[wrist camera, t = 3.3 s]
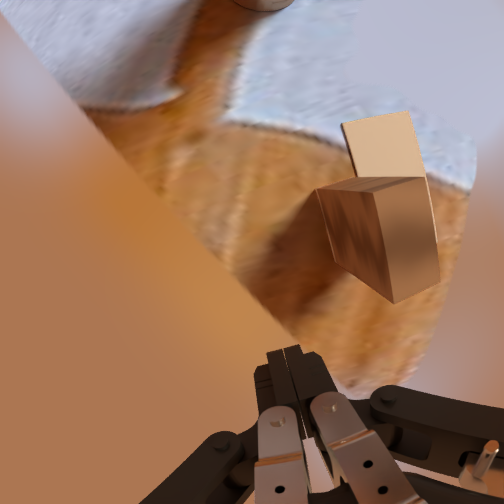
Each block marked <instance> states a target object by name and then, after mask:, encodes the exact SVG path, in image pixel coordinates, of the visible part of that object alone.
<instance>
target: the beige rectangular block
mask: <svg viewBox="0 0 504 504" xmlns="http://www.w3.org/2000/svg"><path fill="white" fill-rule="evenodd" d="M342 126H343V129H344V132H345V136H346V139H347V142H348V145H349V149H350V152H351V155H352V159H353V162H354V166H355V169H356V173H357V176H358V177H425V180H426V185H427V190H428V195H429V200H430V205H431V211H432V217H433V223H434V229H435V236H436V243H437V242H438V241H437V234H436V227H435V221H434V215H433V209H432V203H431V198H430V193H429V188H428V183H427V178H426V174H425V169H424V165H423V161H422V157H421V153H420V149H419V145H418V142H417V138H416V134H415V131H414V128H413V124H412V121H411V118H410V114H409V111H403V112H397V113H391V114H386V115H380V116H375V117H370V118H365V119H360V120H355V121H350V122H345V123H342Z"/></svg>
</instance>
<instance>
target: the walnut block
mask: <svg viewBox="0 0 504 504" xmlns="http://www.w3.org/2000/svg"><path fill="white" fill-rule="evenodd" d="M315 190H316V193H317V197H318V200H319V204H320V207H321V211H322V215H323V218H324V222H325V226H326V229H327V233H328V237H329V241H330V245H331V249H332V253H333V257H334V261H335V263H337V264H338V265H340V266H341V267H343V268H344V269H345V270H347V271H348V272H350V273H351V274H353V275H354V276H355V277H357V278H358V279H360V280H361V281H362V282H364V283H365V284H367V285H368V286H369V287H371V288H372V289H374V290H375V291H376V292H378V293H379V294H380V295H382V296H383V297H385V298H386V299H387V300H389V301H390V302H391V303H393V304H396V303H398V302H400V301H403V300H405V299H407V298H409V297H411V296H413V295H415V294H417V293H419V292H421V291H424V290H426V289H428V288H430V287H432V286H434V285H436V284H438V283H440V271H439V261H438V252H437V244H436V236H435V229H434V223H433V217H432V211H431V205H430V200H429V195H428V190H427V185H426V180H425V177H352V178H349V179H345V180H342V181H339V182H335V183H332V184H329V185H325V186H322V187H319V188H315Z"/></svg>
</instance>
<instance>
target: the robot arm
mask: <svg viewBox="0 0 504 504" xmlns="http://www.w3.org/2000/svg"><path fill="white" fill-rule="evenodd" d="M233 1H234V2H236V3H237V4H239V5H241V6H243V7H246V8H248V9H252V10H257V11H274V10H279V9H282V8H285V7H287V6H288V5H290V4H291V3H292V2H293V1H294V0H233ZM284 353H285V358H286V360H285V358H284V354H283V350H282V349H279V350H276V351H271V352H267V359H268V364H265V365H262V366H257V368H256V370H255V373H254V381H255V389H256V396H257V403H258V410H259V417H258V420H257V422H256V423H255V425H253V426H252V427H251V428H250V429H248V430H246V431H244V432H242V433H240V434H238V435H236V434H235V433H233V432H230V431H221V432H217V433H214V434H212V435H211V436H209V437H208V438H207V439H206V440H205V441H204V442H203V443H202V444H201V445H200V446H199V447H198V448H197V449H196V450H195V451H194V452H193V453H192V454H191V455H190V456H189V457H188V458H187V459H186V460H185V461H184V462H183V463H182V464H181V465H180V466H179V467H178V468H177V469H176V470H175V471H174V472H173V473H172V474H171V475H170V476H169V477H167V478H166V479H165V480H164V481H163V482H162V483H161V484H160V485H159V486H158V487H157V488H156V489H154V490H153V491H152V492H151V493H150V494H149V495H148V496H147V497H146V498H144V499H143V500H142V501H141V502H140V503H139V504H243V503H244V502H245V501H246V500H247V498H248V497H249V496H250V495H251V493H252V492H253V491H254V490H255V504H504V409H503V408H497V407H491V406H486V405H480V404H475V403H469V402H464V401H460V400H455V399H450V398H445V397H441V396H437V395H432V394H428V393H424V392H420V391H416V390H412V389H408V388H404V387H400V386H396V385H386V386H382V387H380V388H378V389H376V390H375V391H374V392H373V393H372V395H371V397H370V399H363V400H350V399H347V397H346V396H345V395H344V394H341V393H339V392H338V390H337V388H336V386H335V384H334V382H333V380H332V378H331V376H330V374H329V372H328V370H327V368H326V365H325V363H324V361H323V359H322V357H321V356H320V355H318V354H317V353H315V352H314V351H313V352H310V353H306V354H303V352H302V350H301V347H300V345H299V344H298V345H294V346H291V347H287V348H284ZM286 362H287V364H286ZM287 366H288V367H287ZM300 412H301V413H300ZM301 416H302V417H301ZM302 419H303V421H302ZM303 422H304V426H305V429H306V433H307V436H308V438H311V437H314V440H315V443H316V446H317V447H318V449H319V452H320V455H321V457H322V459H323V462H324V464H325V466H326V469H327V471H328V473H329V475H330V478H331V480H332V482H333V484H334V489H333V490H330V491H328V492H324V493H312V489H311V483H310V477H309V470H308V465H307V458H306V454H305V450H304V445H303V441H302V440H304V439H306V434H305V430H304V426H303ZM394 459H395V460H398V461H401V462H404V463H407V464H410V465H413V466H416V467H420V468H423V469H426V470H430V471H433V472H437V473H440V474H444V475H448V476H451V477H455V478H459V483H460V485H461V487H462V488H460V487H457V486H454V485H450V484H447V483H444V482H441V481H437V480H434V479H431V478H428V477H425V476H422V475H419V474H416V473H411V472H402V471H401V469H400V468H399V466H398V465H397V463H396V462H395V460H394Z"/></svg>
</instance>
